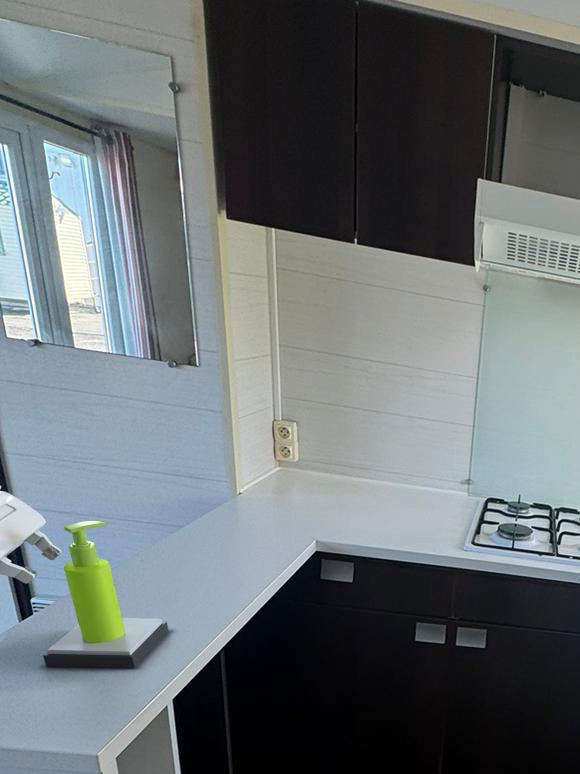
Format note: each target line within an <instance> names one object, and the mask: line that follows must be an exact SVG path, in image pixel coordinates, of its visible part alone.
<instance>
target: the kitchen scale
mask: <svg viewBox="0 0 580 774" xmlns="http://www.w3.org/2000/svg"><path fill="white" fill-rule="evenodd" d="M122 620H123V624H124V628H125V634H124V635H123V636H121V637H120V638H118V639H115V640H112V641H108V642H102V643H91V642H87V641H85V640H83V638H82V634H81V630H80V626H79V623H78V624H77V625H76V626H75V627H73V628H72V629H70V630H69V631H68V632H67V633H66V634H65V635H63V636H61V638H60V639H58V640H57V641H56V642H55V643H54V644H52V645H51V646H50V647H49V648H48V649H47V650H46V651H47V652H46V653H44V654H43V655H42V657H43V661H44V664H45V667H46V668H93V669H94V668H98V669H136V668H137V667H138V666H139V664H140V663H142V661H143V660H144V659H145V658H146V657H147V656H148V655H149V654H150V652H152V651H153V650H154V648H155V647H156V646H157V645H158V644H159V643H160V642H161V641H162V640H163V639H164V638H165V636H167V635H168V633H169V632H170V631H169V626H168V622H167V621H163V620H162V618H145V617H143V618H141V617H122Z"/></svg>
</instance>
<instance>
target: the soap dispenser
mask: <svg viewBox="0 0 580 774" xmlns="http://www.w3.org/2000/svg"><path fill="white" fill-rule="evenodd" d="M108 524H109V523H107V522H105V521H102V520H85V521H80V522H76V523H71V524H68V525H65V526H63V529H64V531H65V532H69V533H71V536H72V539H73V542H72V543H70V544H69V545H68V550H69V554H70V558H71V561H70V562H68V563H66V564H65V565H64V566H63V570H64V575H65V578H66V582H67V585H68V590H69V593H70V596H71V600H72V603H73V607H74V611H75V615H76V618H77V622H78V624H79V626H80V630H81V634H82V638H83V640H85V641H87V642H91V643H102V642H108V641H112V640H115V639H118V638H120V637H121V636H123V635H124V634H125V628H124V624H123V620H122V618H123V616H122V612H121V608H120V607H121V606H120V603H119V599H118V594H117V590H116V586H115V582H114V578H113V574H112V568H111V565H110V562H109V561H108V560H107V559H104V558H99V555H98V550H97V546H96V543H95V542H93V541H90V540H88V536H87V533H86V530H89V529H93V528H98V527H99V528H100V527H101V528H102V527H107V526H108Z"/></svg>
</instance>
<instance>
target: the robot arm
mask: <svg viewBox="0 0 580 774" xmlns="http://www.w3.org/2000/svg"><path fill="white" fill-rule="evenodd" d="M1 489H2V486H1V485H0V576H1V575H2V576H7V577H10V578H15V579H16V580H18V581H19V582H22V583H24V584H29V583H30V582H31V581H32V580H34V579H35V578H36V577H37V576H38V572H37V571H35V570H33V569H32V568H31V567H29V566H25V567H23V566H20V565H17V564H15V563H12V560H11V559H9V558H8V557H7V556H8V555H10V554H11V553H12V552H13V551H15V550H16V549H17V548H18V547H20V546H21V545H22V544H24V543H25V542H26V543H28V544H29V545H31V546H35V547H36V548H37V549H39V550H40V552H42V553H41V554H40V555H42V556H43V557H44V558H47V559H48V560H49V561H54V560H56V559H57V558H58V557H59V556H60V555H61V554H62V553H63V552H62V549H61V548H60V547H57V546H56V545H54V544H53V543H52V541H51V540H50V538H49V537H48V536H47V535H46V534H45V533H43V532H42V531H40V530H41V529H42V528H43V527H44V526H45V524H46V522H47V521H46V519H45V518H44V517H43V515H42V514H41V513H39V512H38V511H37V510H35V509H34V508H33V507H31V506H30V505H29V504H27V503H26V502H24V501H23V500H21V499H20V498H18V497H16V496H14V495H13V494H11V493H9V492H7V491H3V490H1Z"/></svg>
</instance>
